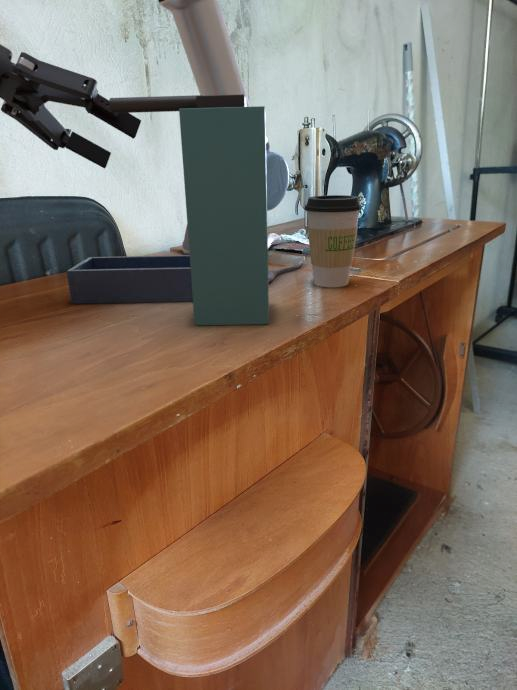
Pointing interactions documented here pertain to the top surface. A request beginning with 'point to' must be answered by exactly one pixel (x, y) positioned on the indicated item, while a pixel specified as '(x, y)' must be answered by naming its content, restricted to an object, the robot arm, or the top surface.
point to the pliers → (282, 270)
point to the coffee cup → (332, 237)
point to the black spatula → (174, 103)
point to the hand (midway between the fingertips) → (121, 146)
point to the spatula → (273, 239)
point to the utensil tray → (131, 279)
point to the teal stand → (226, 213)
